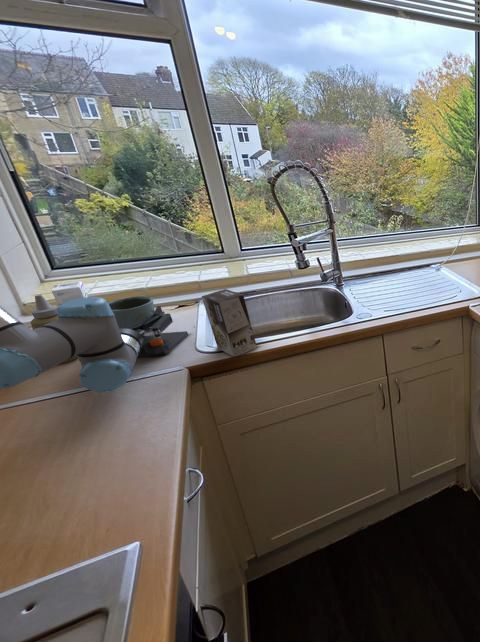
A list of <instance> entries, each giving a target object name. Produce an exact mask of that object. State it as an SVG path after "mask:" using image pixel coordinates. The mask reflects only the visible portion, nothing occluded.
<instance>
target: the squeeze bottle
mask: <svg viewBox="0 0 480 642" xmlns="http://www.w3.org/2000/svg"><path fill="white" fill-rule="evenodd" d="M34 300H35V308H34V309H32V310H31V311H30V313H31V314H32V317H33V318H32V319H31V320H30V325H31V330H33V329H35V328H38V327H40V326H43V325H45V324H48V323H50V322H52V321H55V320H57V319H59V317H58V316H57V315H58V314H57V307H58V305H56V304H55V305H53V304H52V305H51V304H50V302H48V300H47V299H46V297H44V295H42V294H35V295H34ZM77 359H78V360H79V358H78V356H77V355H76V356H74V357H72V358H70V359H68V360H66V361H64V362H62V363H61V364H65V363H69V362H72V361H75V360H77Z"/></svg>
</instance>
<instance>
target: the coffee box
mask: <svg viewBox="0 0 480 642" xmlns="http://www.w3.org/2000/svg"><path fill="white" fill-rule="evenodd" d="M201 300H202V303H203V306H204V309H205V313H206V315H207V319H208V322H209V325H210V328H211V331H212V334H213V338H214V340H215V344H216V347H217V349H218V350H220V351H222V352H224V353H226V354H228V355H230V356H232V357H234V358H235V357H237V356H238V357H239V356H240V355H242V354H245V353H248V352H251V351H252V350H255V349H257V341H256V338H255V334H254V331H253V327H252V323H251V318H250V315H249V312H248V308H247V303H246V299H245V295H244V294H241V293H239V292H236V291H233V290H230V289H226V288H224V289H220V290H217V291H214V292H212V293H211V292H210V293H208V294H204V295H201Z"/></svg>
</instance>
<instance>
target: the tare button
mask: <svg viewBox="0 0 480 642" xmlns="http://www.w3.org/2000/svg"><path fill="white" fill-rule="evenodd" d="M150 344H151V347H156V346H160V345H162V344H164V343H163V340H162V338H155V339H152V340H150Z"/></svg>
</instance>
